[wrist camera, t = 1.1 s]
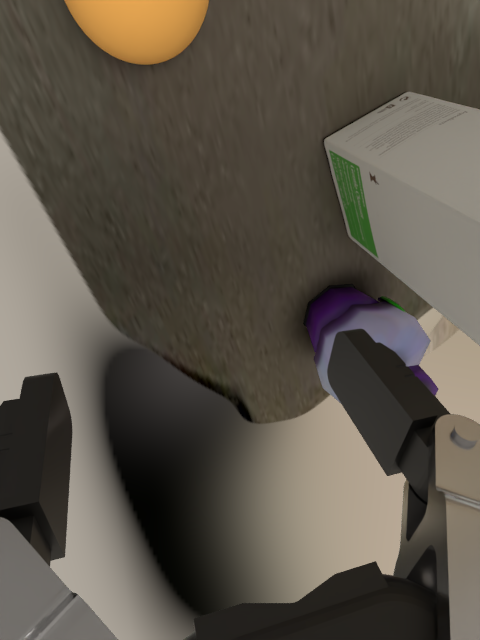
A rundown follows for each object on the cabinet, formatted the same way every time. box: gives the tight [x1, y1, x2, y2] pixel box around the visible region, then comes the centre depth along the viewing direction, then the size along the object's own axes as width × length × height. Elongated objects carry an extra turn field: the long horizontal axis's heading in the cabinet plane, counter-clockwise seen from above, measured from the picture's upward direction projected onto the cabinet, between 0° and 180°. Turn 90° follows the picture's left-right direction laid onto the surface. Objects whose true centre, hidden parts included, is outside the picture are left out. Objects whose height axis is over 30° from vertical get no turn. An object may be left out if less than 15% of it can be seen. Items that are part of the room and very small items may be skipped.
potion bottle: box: [303, 284, 439, 403], centre depth 30 cm, size 9×9×12 cm
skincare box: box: [324, 92, 480, 346], centre depth 22 cm, size 8×7×16 cm
